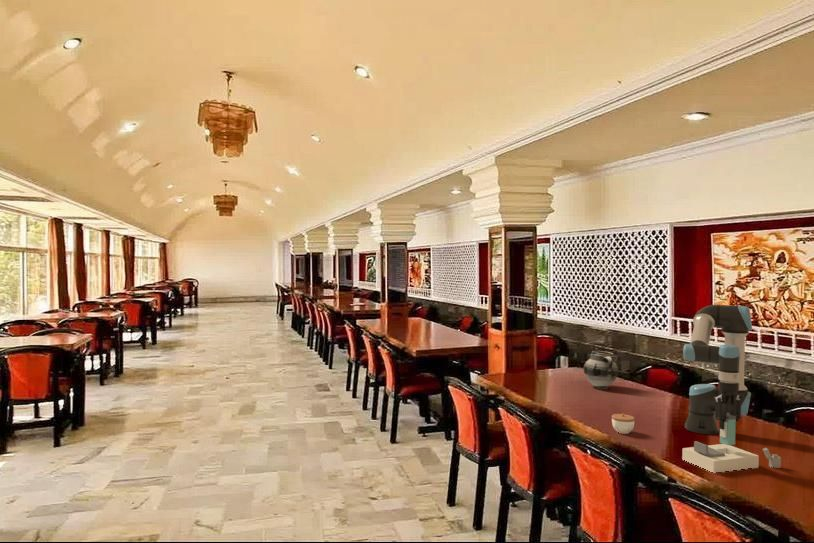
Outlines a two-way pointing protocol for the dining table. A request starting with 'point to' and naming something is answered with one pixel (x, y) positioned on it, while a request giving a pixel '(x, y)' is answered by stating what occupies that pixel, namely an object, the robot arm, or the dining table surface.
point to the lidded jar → (623, 423)
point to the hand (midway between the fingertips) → (727, 436)
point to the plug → (729, 430)
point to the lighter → (772, 459)
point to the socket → (722, 459)
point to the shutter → (706, 450)
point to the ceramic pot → (601, 369)
